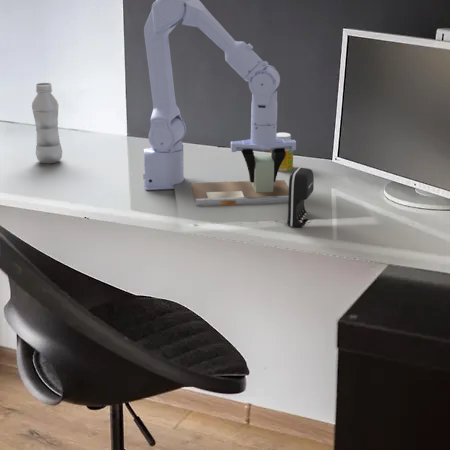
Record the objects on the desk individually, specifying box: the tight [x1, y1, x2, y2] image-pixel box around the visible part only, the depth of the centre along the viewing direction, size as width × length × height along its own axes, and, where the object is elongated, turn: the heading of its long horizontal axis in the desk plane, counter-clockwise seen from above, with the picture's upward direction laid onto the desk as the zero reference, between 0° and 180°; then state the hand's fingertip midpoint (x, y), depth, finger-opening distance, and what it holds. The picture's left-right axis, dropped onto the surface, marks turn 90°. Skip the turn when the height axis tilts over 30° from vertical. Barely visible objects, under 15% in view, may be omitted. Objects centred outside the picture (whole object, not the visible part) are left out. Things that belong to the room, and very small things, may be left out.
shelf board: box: [190, 179, 289, 207], centre depth 186 cm, size 22×15×2 cm
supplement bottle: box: [270, 132, 294, 173], centre depth 201 cm, size 5×5×10 cm
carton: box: [252, 153, 274, 193], centre depth 187 cm, size 4×6×7 cm
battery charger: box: [287, 166, 315, 228], centre depth 170 cm, size 7×4×11 cm, turn 160°
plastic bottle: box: [31, 82, 63, 164], centre depth 206 cm, size 6×7×20 cm
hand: (262, 180), depth 188 cm, fingers closed on carton, 4 cm apart
